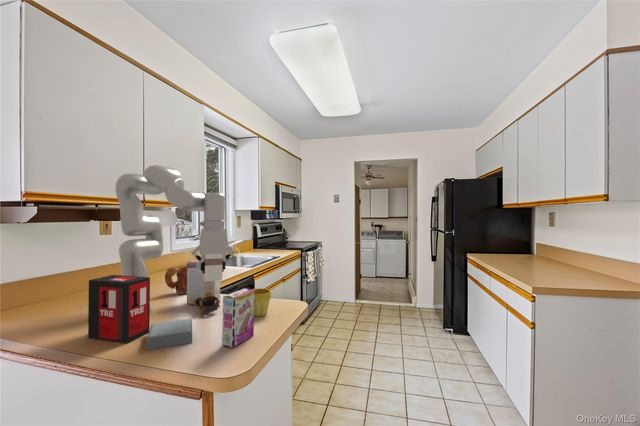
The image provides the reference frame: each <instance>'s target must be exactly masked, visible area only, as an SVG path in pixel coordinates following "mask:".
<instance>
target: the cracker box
mask: <svg viewBox="0 0 640 426" xmlns="http://www.w3.org/2000/svg"><path fill="white" fill-rule="evenodd" d="M186 264H187V265H186V266H187V294H186V305H187V306H197V305H196V303H195V301H196V299H197V298H204V297H205V296H209V295H212V296H215V297H217V298H218V300H219V301H220V302H221V280H218V281H205V280H204V273H203V272H202V271H201V262H200V261H199V260H198V259H190V260H188V261H186ZM204 301H206V300H204ZM215 303H216V300H215Z"/></svg>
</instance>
